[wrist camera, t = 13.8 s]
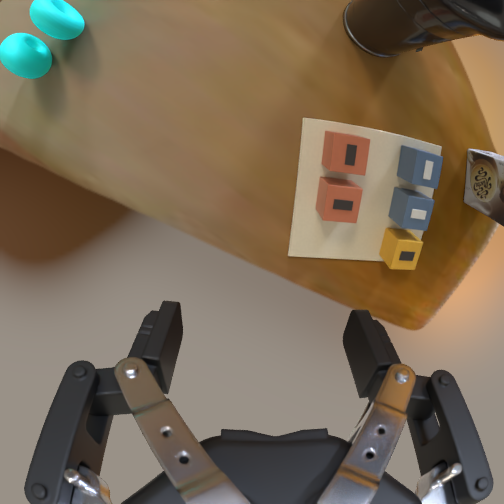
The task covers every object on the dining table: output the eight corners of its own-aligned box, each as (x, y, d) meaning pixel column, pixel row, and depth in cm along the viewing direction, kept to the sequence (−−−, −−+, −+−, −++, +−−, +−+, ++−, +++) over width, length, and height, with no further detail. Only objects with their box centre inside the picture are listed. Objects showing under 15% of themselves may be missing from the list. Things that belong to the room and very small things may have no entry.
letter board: (302, 117, 32) (303, 117, 32) (439, 146, 33) (441, 146, 32) (287, 254, 41) (288, 256, 40) (412, 261, 41) (413, 263, 41)
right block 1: (401, 144, 32) (417, 150, 29) (426, 151, 33) (443, 157, 29) (396, 175, 35) (411, 184, 31) (421, 180, 35) (437, 189, 31)
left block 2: (319, 176, 35) (328, 185, 31) (351, 180, 35) (363, 189, 31) (315, 208, 37) (322, 220, 33) (346, 211, 37) (356, 223, 33)
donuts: (98, 32, 25) (58, 17, 16) (52, 82, 28) (8, 83, 19) (71, 0, 22) (32, -15, 13) (29, 48, 24) (-12, 45, 15)
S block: (385, 227, 38) (398, 240, 34) (409, 229, 38) (423, 242, 34) (378, 254, 40) (390, 269, 36) (402, 255, 40) (415, 270, 36)
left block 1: (324, 130, 32) (334, 133, 28) (357, 135, 32) (371, 139, 28) (321, 164, 34) (330, 171, 30) (353, 168, 34) (365, 176, 30)
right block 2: (394, 186, 35) (409, 196, 31) (418, 191, 35) (435, 200, 31) (388, 216, 37) (401, 228, 33) (412, 219, 37) (427, 231, 33)
